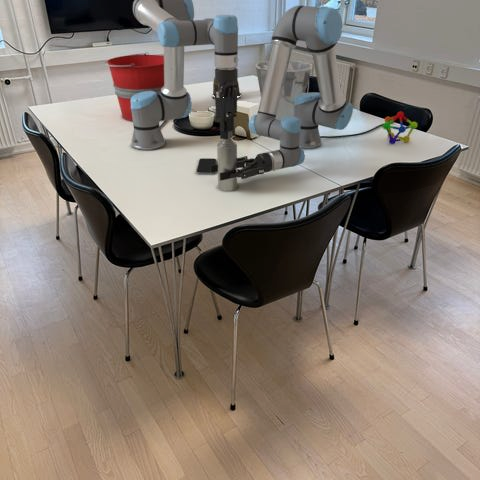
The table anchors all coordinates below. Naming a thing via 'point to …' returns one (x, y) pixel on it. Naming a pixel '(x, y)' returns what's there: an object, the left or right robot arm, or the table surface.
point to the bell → (216, 85)
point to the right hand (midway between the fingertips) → (215, 173)
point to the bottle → (227, 163)
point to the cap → (229, 133)
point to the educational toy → (398, 128)
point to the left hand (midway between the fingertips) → (227, 136)
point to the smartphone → (205, 165)
